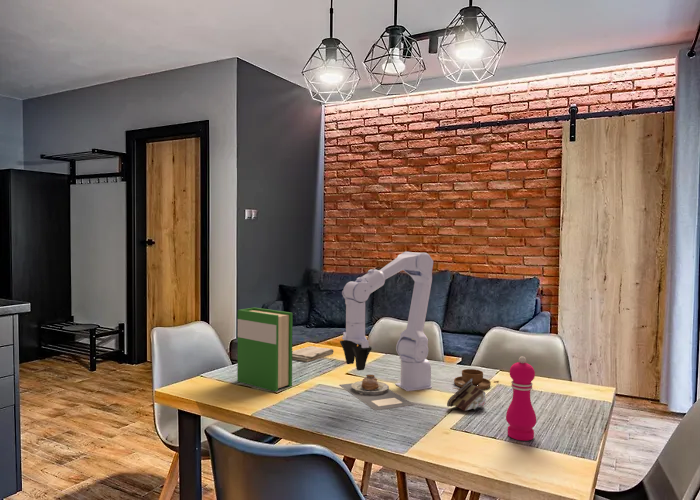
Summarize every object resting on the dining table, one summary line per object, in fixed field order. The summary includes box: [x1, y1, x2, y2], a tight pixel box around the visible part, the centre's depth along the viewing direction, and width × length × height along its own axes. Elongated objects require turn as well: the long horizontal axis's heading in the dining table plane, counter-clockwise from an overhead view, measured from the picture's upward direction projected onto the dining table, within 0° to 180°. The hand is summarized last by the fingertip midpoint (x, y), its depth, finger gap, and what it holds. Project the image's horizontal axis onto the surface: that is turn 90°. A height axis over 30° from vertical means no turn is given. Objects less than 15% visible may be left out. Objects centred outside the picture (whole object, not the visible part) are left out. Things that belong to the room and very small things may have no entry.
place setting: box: [452, 368, 500, 391], centre depth 172 cm, size 18×20×6 cm
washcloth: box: [292, 345, 334, 363], centre depth 210 cm, size 12×18×3 cm, turn 149°
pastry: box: [351, 374, 390, 395], centre depth 166 cm, size 12×12×5 cm
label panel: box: [339, 382, 415, 411], centre depth 162 cm, size 13×26×1 cm, turn 24°
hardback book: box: [236, 307, 294, 392], centre depth 171 cm, size 18×7×24 cm, turn 54°
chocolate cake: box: [446, 379, 487, 412], centre depth 150 cm, size 10×7×12 cm
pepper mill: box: [505, 355, 537, 442], centre depth 130 cm, size 7×7×20 cm
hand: (355, 366), depth 157 cm, fingers open, 7 cm apart
